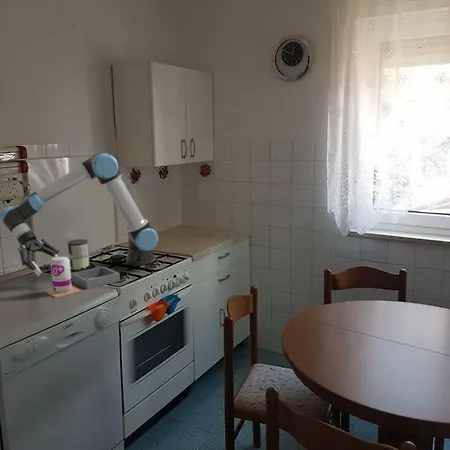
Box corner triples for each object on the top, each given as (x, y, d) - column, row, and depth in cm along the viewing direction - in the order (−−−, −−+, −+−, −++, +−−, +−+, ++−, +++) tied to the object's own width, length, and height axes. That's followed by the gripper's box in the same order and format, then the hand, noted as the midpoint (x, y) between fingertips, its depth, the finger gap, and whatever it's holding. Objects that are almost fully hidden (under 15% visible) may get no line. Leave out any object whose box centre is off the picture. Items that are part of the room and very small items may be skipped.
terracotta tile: (70, 285, 224) (69, 284, 224) (81, 291, 215) (81, 290, 215) (44, 291, 216) (44, 290, 216) (55, 298, 207) (55, 296, 207)
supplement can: (66, 293, 210) (63, 261, 208) (49, 292, 212) (46, 260, 209) (75, 288, 218) (72, 256, 215) (59, 287, 220) (56, 255, 217)
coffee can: (65, 268, 254) (63, 242, 251) (79, 263, 263) (77, 238, 260) (80, 270, 249) (78, 244, 247) (93, 265, 258) (91, 240, 256)
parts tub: (103, 273, 242) (102, 266, 241) (120, 281, 229) (119, 273, 229) (71, 281, 231) (70, 273, 230) (87, 289, 218) (86, 280, 217)
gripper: (41, 235, 232) (67, 268, 228) (-2, 246, 210) (25, 283, 206) (48, 225, 229) (75, 258, 225) (5, 235, 207) (33, 272, 203)
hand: (51, 270), depth 216 cm, fingers open, 13 cm apart
